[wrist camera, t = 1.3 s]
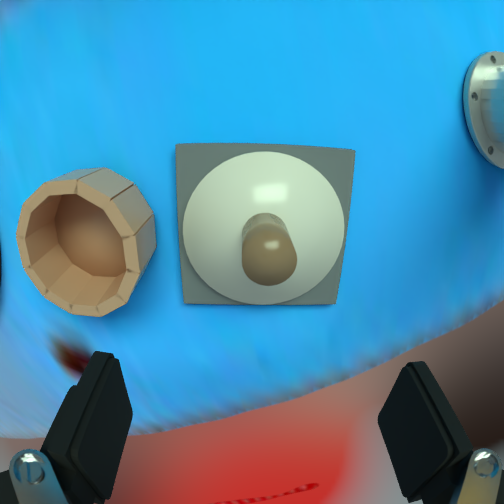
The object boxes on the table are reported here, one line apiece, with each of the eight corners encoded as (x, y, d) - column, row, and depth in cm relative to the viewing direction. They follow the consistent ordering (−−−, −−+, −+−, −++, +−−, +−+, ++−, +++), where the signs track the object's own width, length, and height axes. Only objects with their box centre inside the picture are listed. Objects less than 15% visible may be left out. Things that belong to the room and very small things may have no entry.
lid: (348, 156, 24) (377, 167, 18) (331, 299, 29) (348, 337, 24) (182, 150, 23) (164, 160, 18) (189, 298, 28) (178, 338, 23)
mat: (351, 149, 24) (355, 150, 24) (333, 298, 30) (335, 304, 29) (178, 143, 24) (175, 144, 23) (185, 297, 30) (183, 303, 29)
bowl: (154, 162, 25) (130, 175, 19) (163, 283, 29) (147, 320, 23) (46, 171, 24) (7, 186, 19) (63, 278, 28) (35, 309, 23)
